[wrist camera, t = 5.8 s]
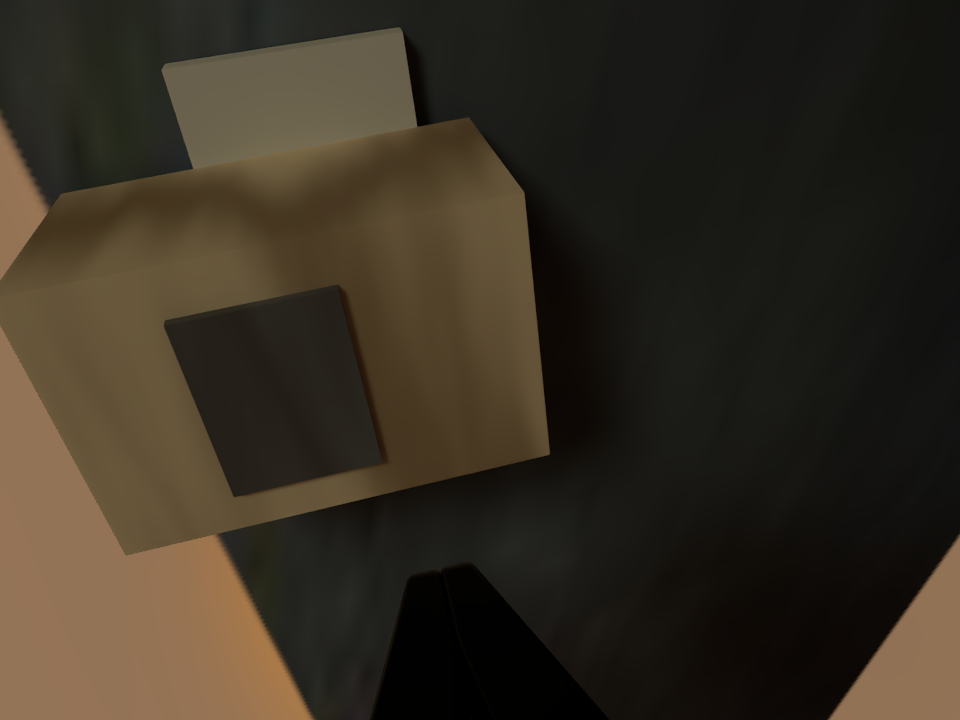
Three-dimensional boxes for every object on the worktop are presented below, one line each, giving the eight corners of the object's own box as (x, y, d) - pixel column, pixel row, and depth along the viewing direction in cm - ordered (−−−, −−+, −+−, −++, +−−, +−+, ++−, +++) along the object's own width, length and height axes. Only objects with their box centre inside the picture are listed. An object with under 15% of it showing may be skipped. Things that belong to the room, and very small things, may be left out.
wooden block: (527, 196, 13) (-18, 305, 12) (552, 460, 17) (124, 562, 16) (468, 117, 18) (61, 193, 17) (498, 339, 21) (159, 413, 20)
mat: (399, 27, 17) (402, 32, 16) (456, 396, 22) (460, 408, 22) (165, 63, 16) (161, 70, 16) (283, 433, 22) (283, 446, 21)
